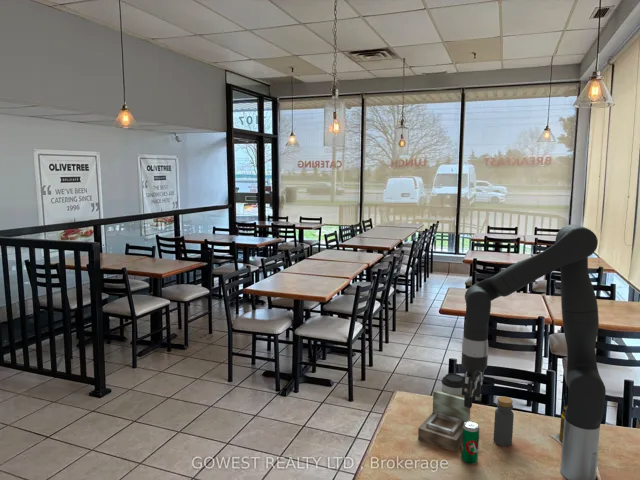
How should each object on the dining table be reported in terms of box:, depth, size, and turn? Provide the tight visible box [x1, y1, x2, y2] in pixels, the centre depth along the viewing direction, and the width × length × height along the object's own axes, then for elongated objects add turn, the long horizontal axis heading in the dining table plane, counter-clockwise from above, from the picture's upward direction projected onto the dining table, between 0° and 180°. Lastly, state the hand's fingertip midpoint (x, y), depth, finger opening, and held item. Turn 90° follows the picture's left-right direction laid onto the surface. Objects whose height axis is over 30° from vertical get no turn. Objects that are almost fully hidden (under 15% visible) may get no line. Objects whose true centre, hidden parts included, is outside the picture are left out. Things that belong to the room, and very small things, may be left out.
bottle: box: [493, 395, 515, 447], centre depth 158 cm, size 6×6×15 cm
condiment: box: [549, 405, 567, 445], centre depth 159 cm, size 7×8×12 cm
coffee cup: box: [440, 373, 464, 398], centre depth 176 cm, size 9×9×15 cm
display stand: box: [417, 390, 471, 452], centre depth 161 cm, size 13×14×12 cm
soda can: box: [460, 420, 480, 465], centre depth 148 cm, size 5×5×12 cm
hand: (472, 401), depth 146 cm, fingers open, 8 cm apart
